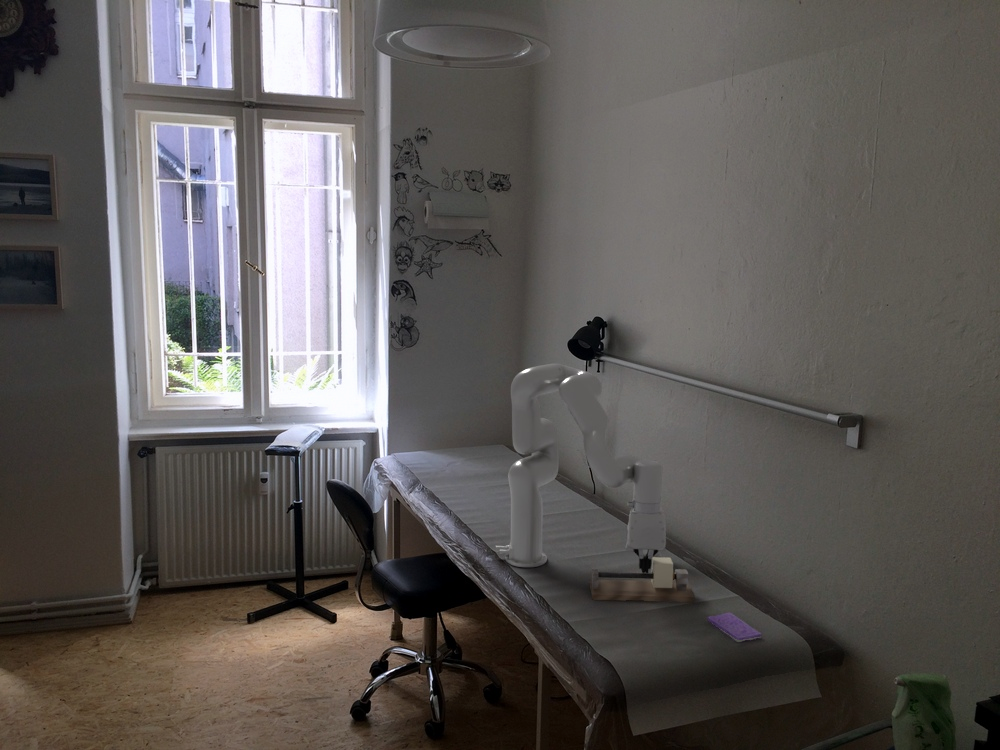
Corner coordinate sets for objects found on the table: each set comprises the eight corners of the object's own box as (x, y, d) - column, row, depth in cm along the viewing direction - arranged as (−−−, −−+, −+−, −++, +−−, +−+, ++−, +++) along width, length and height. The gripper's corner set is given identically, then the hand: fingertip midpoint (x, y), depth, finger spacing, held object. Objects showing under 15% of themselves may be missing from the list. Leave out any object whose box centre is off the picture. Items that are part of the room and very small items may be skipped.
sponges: (737, 645, 190) (737, 637, 190) (706, 622, 202) (706, 615, 202) (761, 640, 193) (762, 633, 192) (729, 618, 204) (730, 611, 204)
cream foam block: (653, 587, 215) (654, 563, 214) (651, 580, 220) (652, 557, 219) (672, 587, 215) (673, 564, 214) (669, 581, 219) (670, 557, 218)
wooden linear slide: (592, 599, 213) (593, 576, 212) (589, 584, 223) (590, 562, 222) (693, 602, 212) (694, 579, 211) (686, 586, 222) (687, 564, 221)
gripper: (620, 510, 211) (618, 576, 213) (677, 511, 210) (674, 577, 213) (617, 501, 218) (615, 565, 221) (672, 502, 218) (669, 566, 220)
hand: (644, 571), depth 217 cm, fingers closed
